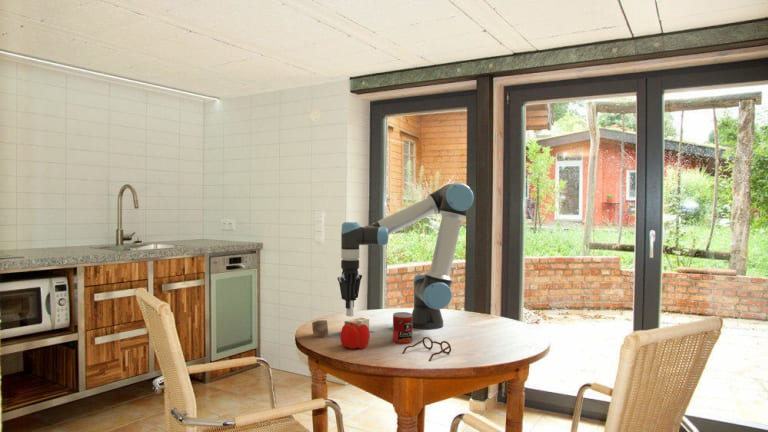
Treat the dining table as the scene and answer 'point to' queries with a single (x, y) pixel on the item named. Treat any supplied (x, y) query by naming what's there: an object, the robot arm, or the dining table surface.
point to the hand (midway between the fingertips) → (349, 315)
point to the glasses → (432, 346)
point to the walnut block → (320, 328)
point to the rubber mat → (337, 335)
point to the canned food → (402, 327)
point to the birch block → (359, 321)
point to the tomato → (354, 336)
